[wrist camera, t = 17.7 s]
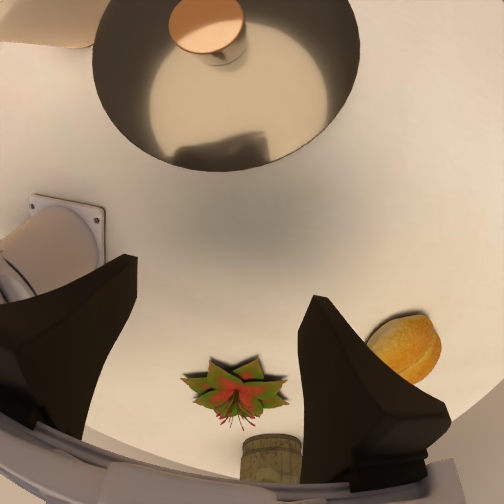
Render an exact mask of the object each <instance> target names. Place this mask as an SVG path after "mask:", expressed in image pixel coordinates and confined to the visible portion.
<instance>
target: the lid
mask: <svg viewBox="0 0 504 504" xmlns="http://www.w3.org/2000/svg"><path fill="white" fill-rule="evenodd" d="M359 60H360V39H359V32H358V26H357V22H356V19H355V16H354V12H353V10H352V8H351V6H350V4H349V2H348V0H110V2H109V4H108V5H107V7H106V9H105V11H104V13H103V15H102V17H101V19H100V22H99V25H98V28H97V31H96V35H95V40H94V45H93V57H92V67H93V77H94V82H95V86H96V90H97V94H98V96H99V99H100V101H101V103H102V106H103V108H104V110H105V111H106V113H107V115H108V116H109V118H110V120H111V121H112V122H113V123H114V125H115V126H116V127H117V129H118V130H119V131H120V132H121V133H122V134H123V135H124V136H125V137H126V138H127V139H128V140H129V141H130V142H131V143H133V144H134V145H136V146H137V147H138V148H140V149H141V150H143V151H144V152H146V153H148V154H149V155H151V156H153V157H155V158H157V159H159V160H161V161H164V162H167V163H169V164H172V165H174V166H178V167H182V168H186V169H190V170H198V171H206V172H229V171H239V170H245V169H250V168H254V167H259V166H262V165H265V164H268V163H271V162H274V161H277V160H279V159H281V158H283V157H285V156H287V155H289V154H292V153H294V152H295V151H297V150H298V149H300V148H301V147H303V146H305V145H306V144H308V143H309V142H310V141H312V140H313V139H314V138H315V137H316V136H318V135H319V134H320V133H321V132H322V131H323V130H324V129H325V128H326V127H327V126H328V125H329V124H330V123H331V122H332V121H333V120H334V118H335V117H336V116H337V114H338V113H339V111H340V110H341V108H342V107H343V106H344V104H345V102H346V100H347V98H348V96H349V94H350V92H351V90H352V87H353V84H354V82H355V79H356V76H357V71H358V65H359Z"/></svg>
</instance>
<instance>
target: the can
mask: <svg viewBox="0 0 504 504" xmlns="http://www.w3.org/2000/svg"><path fill="white" fill-rule="evenodd" d="M109 2H110V0H0V42H14V43H28V44H39V45H48V46H56V47H64V48H73V49H78V48H84V47H87V46H90V45H92V44H94V40H95V35H96V31H97V28H98V25H99V22H100V19H101V17H102V15H103V13H104V11H105V9H106V7H107V5H108V4H109Z"/></svg>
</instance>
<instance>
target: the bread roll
mask: <svg viewBox="0 0 504 504" xmlns="http://www.w3.org/2000/svg"><path fill="white" fill-rule="evenodd" d="M367 346H368V347H369V348H370V349H371V350H372V351H373V352H374V353H375V354H376V355H377V356H378V357H379V358H380V359H381V360H382V361H383V362H384V363H385V364H386V365H388V366H389V367H390V368H391V369H392V370H394V371H395V372H396V373H397V374H399V375H400V376H401V377H402V378H404V379H405V380H407V381H408V382H409V383H411V384H412V385H413V384H415V383H418V382H419V381H421V380H422V379H424V378H425V377H426V376H427V375H428V374H429V373H430V372H431V371H432V369H433V368H434V366H435V365H436V363H437V361H438V359H439V356H440V353H441V341H440V338H439V336H438V334H437V333H436V332H435V331H434V330H433V324H432V322H431V320H430V319H429V318H428V317H426V316H424V315H412V316H407V317H403V318H398V319H394V320H391V321H389V322H388V323H386V324H384V325H383V326H382V327H380V328H379V329H378V330H377V331H376V332H375V333H374V334H373V335H372V337H371V338H370V339H369V341H368V343H367Z"/></svg>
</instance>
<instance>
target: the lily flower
mask: <svg viewBox="0 0 504 504" xmlns="http://www.w3.org/2000/svg"><path fill="white" fill-rule="evenodd" d="M209 364H210V365H209V372H208V375H207V378H188V379H185V378H180V379H181V380H183V381H184V382H185V383H186V384H187V385H189V387H190V388H191V389H192V390H194V391H195V392H197V393H200V394H203V395H201V396H200V397H199V398H197V399H196V400H195V401H193V402H194V403H197V404H199V405H203V406H204V407H206V408H209V409H214V411H215V413H216V414H217V416H216V417H218V416H220V418H219V419H224V418H226V419H225V420H224V421H223V422H222V423H221V424H223V423H225V422H226V420H227V419H228V417H230V418H231V417H233V416H236V415H238V417H239V415H240V416H241V417H242V419H243V420H244V418H245V419H246V420H247V418H246V417H250V418H251V419H255V417H253V416H256V417H260V415H261V414H262V413H263V408H275V407H279V406H282V405H289V403H287V402H286V401H284V400H283V399H282V398H280V397H279V396H277V395H276V394H277V393H278V391H279V390H280V389H281V387H282V384H283V383H285V382H286V381H287V380H282V381H275V382H274V381H272V382H263V379H264V376H263V372H262V369H261V367H260V365H259V364H258V358H257V359H256V360H254V361H252V362H250V363H248V364H247V365H244V366H242V367H240V368H238V369H236V370H234V371H232V372H231V373H230V374H229V373H227V372H226V371H224V370H223V369H221V368H220V367H218V366H216V365H214V363H212V362H211V361H210V360H209ZM243 417H244V418H243ZM232 420H233V418H232ZM239 420H240V418H239ZM229 421H230V419H229ZM247 421H248V420H247ZM248 422H249V421H248ZM240 423H241V422H240ZM249 423H250V422H249ZM221 424H220V425H221ZM231 424H232V423H231ZM250 424H251V425H253V426H255V425H254V424H253V423H250ZM241 426H242V425H241ZM230 427H231V426H230ZM242 429H243V427H242ZM243 431H244V429H243Z"/></svg>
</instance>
